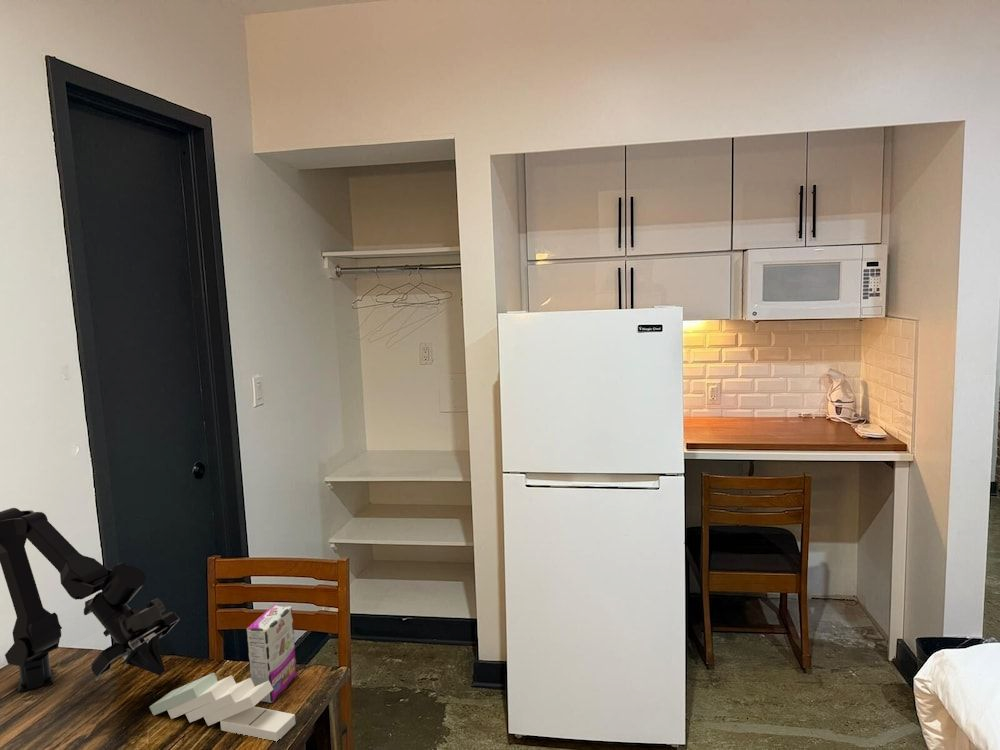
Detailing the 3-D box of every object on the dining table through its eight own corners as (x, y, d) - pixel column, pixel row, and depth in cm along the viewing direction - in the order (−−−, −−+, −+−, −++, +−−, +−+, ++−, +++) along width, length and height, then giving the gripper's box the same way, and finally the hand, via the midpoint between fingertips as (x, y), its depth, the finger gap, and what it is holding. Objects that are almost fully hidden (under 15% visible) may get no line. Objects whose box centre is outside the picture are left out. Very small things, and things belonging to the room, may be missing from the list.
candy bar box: (277, 673, 159) (272, 604, 157) (297, 675, 158) (293, 605, 156) (250, 702, 148) (245, 627, 146) (272, 704, 147) (267, 629, 145)
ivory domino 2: (185, 713, 141) (230, 693, 137) (206, 697, 147) (250, 677, 142) (189, 723, 141) (234, 703, 137) (211, 706, 147) (254, 686, 142)
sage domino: (149, 706, 144) (192, 687, 140) (171, 690, 150) (213, 672, 145) (153, 715, 144) (197, 697, 140) (175, 699, 150) (218, 681, 145)
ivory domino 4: (220, 720, 138) (276, 732, 134) (240, 703, 144) (294, 714, 140) (221, 730, 139) (276, 742, 134) (241, 713, 144) (295, 724, 140)
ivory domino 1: (166, 710, 143) (211, 690, 138) (188, 694, 148) (231, 674, 144) (171, 719, 143) (215, 700, 138) (193, 702, 148) (236, 684, 144)
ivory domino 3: (203, 716, 140) (249, 696, 135) (224, 700, 145) (268, 680, 141) (208, 726, 140) (254, 706, 135) (228, 709, 145) (273, 689, 141)
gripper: (97, 613, 136) (147, 675, 134) (169, 575, 154) (214, 629, 152) (69, 646, 140) (118, 707, 138) (143, 605, 157) (187, 659, 155)
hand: (162, 673), depth 146 cm, fingers closed
